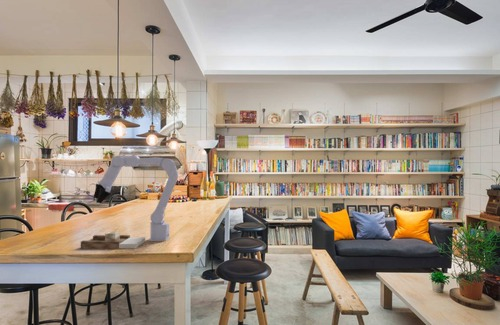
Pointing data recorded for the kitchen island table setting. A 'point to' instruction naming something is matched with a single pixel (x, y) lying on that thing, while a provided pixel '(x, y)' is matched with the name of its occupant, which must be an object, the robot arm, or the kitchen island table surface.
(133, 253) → the kitchen island table surface
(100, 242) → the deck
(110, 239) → the cube
